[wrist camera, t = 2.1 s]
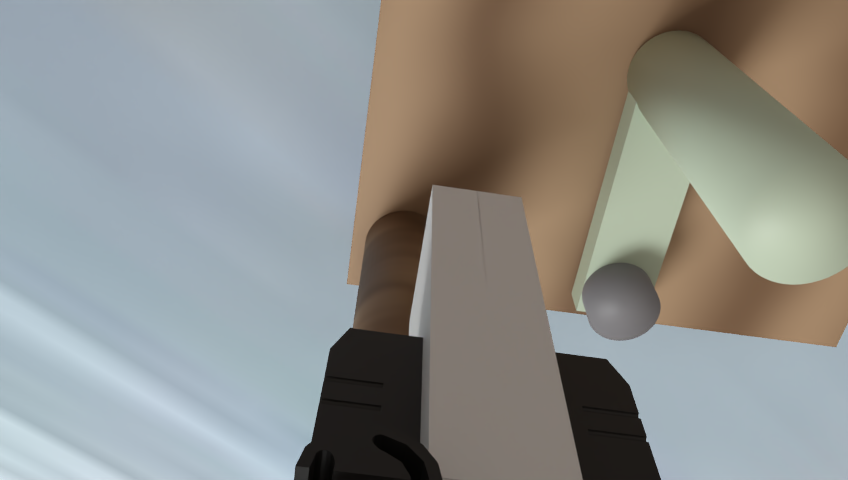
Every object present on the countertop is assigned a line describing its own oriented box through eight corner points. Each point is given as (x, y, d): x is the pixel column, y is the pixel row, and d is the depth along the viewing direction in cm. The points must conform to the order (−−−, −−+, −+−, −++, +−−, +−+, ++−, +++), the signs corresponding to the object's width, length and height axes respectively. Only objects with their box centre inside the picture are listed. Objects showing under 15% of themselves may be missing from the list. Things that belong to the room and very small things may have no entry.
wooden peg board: (352, 252, 33) (310, 498, 21) (443, -498, 22) (461, -858, 10) (810, 312, 35) (1009, 576, 23) (1119, -366, 23) (1837, -545, 11)
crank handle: (639, 309, 31) (732, 532, 22) (564, 299, 31) (626, 520, 21) (729, 37, 26) (904, 171, 17) (641, 24, 26) (766, 151, 16)
